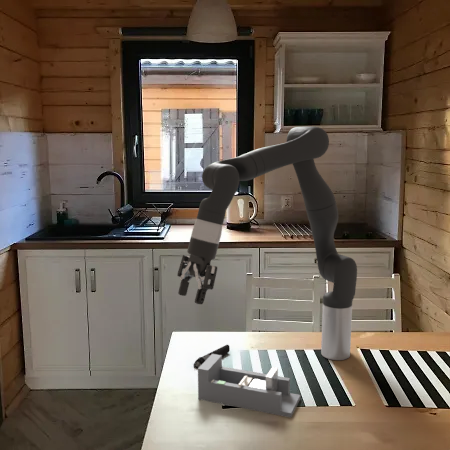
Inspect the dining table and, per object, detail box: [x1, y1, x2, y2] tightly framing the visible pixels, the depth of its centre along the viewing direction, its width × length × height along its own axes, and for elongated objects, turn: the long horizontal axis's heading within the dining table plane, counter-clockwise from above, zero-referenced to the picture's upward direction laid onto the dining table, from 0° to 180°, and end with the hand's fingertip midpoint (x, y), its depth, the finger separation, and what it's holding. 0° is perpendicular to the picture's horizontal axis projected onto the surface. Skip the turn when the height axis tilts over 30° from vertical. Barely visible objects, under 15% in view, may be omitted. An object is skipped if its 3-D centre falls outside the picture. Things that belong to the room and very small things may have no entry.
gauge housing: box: [197, 354, 301, 418], centre depth 146 cm, size 10×26×9 cm, turn 69°
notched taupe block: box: [249, 366, 279, 391], centre depth 144 cm, size 6×7×8 cm
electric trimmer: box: [193, 344, 231, 370], centre depth 171 cm, size 4×16×3 cm, turn 142°
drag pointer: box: [238, 376, 253, 386], centre depth 145 cm, size 8×2×5 cm, turn 159°
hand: (189, 299), depth 139 cm, fingers open, 8 cm apart
